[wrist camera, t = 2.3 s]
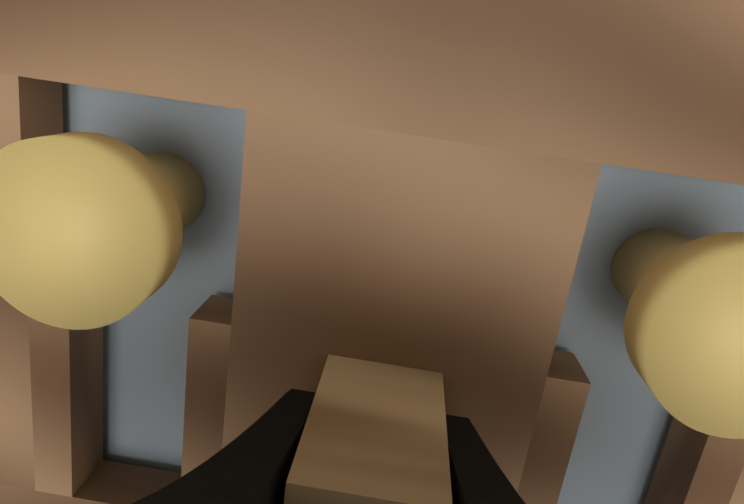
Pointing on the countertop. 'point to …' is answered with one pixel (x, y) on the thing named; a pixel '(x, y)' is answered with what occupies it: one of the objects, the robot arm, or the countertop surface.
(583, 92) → the panel
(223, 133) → the boss board
